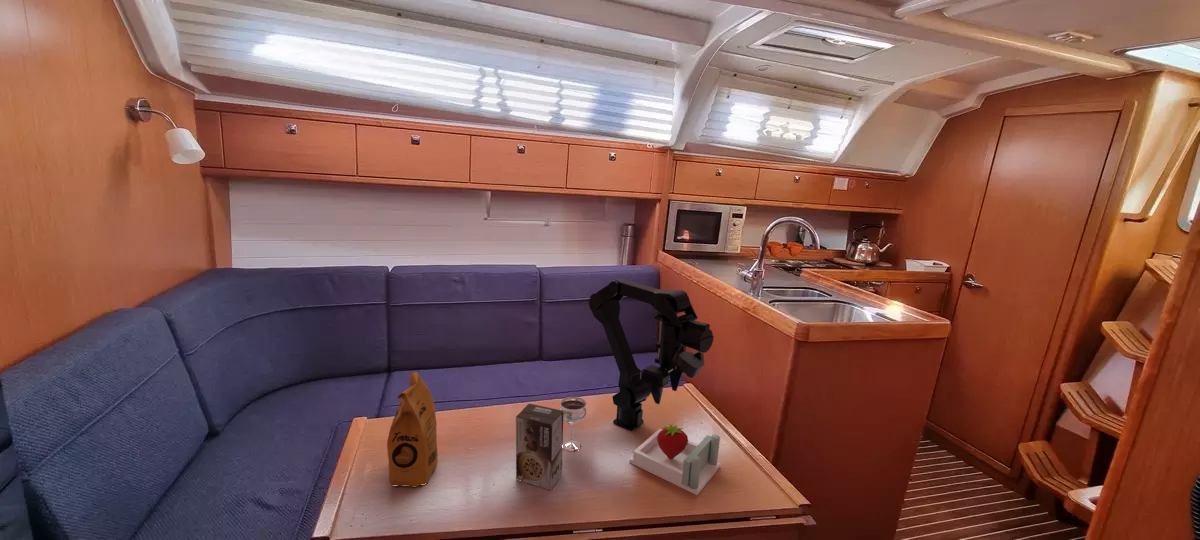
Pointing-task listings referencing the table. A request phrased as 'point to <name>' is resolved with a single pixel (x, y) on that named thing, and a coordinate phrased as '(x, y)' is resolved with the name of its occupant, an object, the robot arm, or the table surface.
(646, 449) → the cradle stand
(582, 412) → the wineglass
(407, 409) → the coffee package
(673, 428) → the strawberry
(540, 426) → the coffee box
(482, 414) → the table surface
